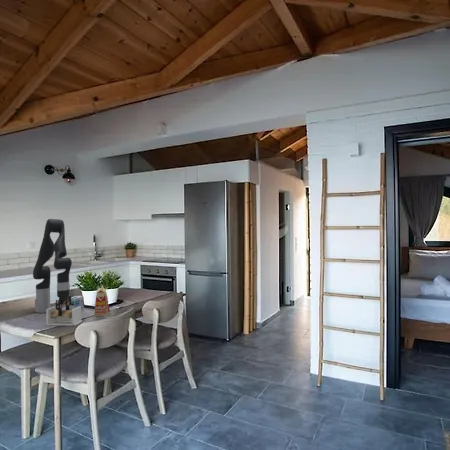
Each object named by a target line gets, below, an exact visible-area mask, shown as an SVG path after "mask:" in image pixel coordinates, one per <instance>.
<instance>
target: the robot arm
mask: <svg viewBox="0 0 450 450" xmlns="http://www.w3.org/2000/svg"><path fill="white" fill-rule="evenodd" d="M44 226H45V227H44V233H43V238H42V241H41V245H40V247H39V252H38V256H37V260H36V262H35V265H34V268H33V270H32V277H33V279H34V280H37V281H38V280H42V281H41V282H39V283H37V284H35V298H34V313H38V314H40V313H41V314H43V313H46V309H49V308H51V274H52V272H51V268H50V266H48V265H45V264H46V263H47V262H48V261H49V260H51V258H52V257H53V255H54V262H53V267H54V269H55V270H63V271H61V272H59V273H57V275H56V281H57V284H56V296H57V298H58V299H56V300H55V306H56V310H58V316H62V310H63V308H64V307H65V310H69V306H70V305H71V297H72V295H71V292H70V291H71V290H70V289H71V287H70V272H71V267H72V264H73V261H72V259H71V257H66V256H67V255H68V253H67V247H66V239H65V238H66V233H65V232H66V231H65V230H66V229H65V228H66V227H65V221H64V220H63V219H55V218H48V219H47V220H46V223H45V225H44ZM51 233H56V234H59V235H58V238H57V239H56V240H55V241H53V240H52V237H51ZM69 301H70V303H69Z"/></svg>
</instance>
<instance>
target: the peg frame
mask: <svg viewBox="0 0 450 450" xmlns="http://www.w3.org/2000/svg"><path fill="white" fill-rule="evenodd" d="M55 310H56V305H53V306H52V307H51V306H50V308H49V309H46V312H45V313H46V319H45V320H46V324H45V326H77V325H79V324H81V323H82V322H83V320H82V311H81V306H79V307H77V308H75V309H72V317H52V311H55Z"/></svg>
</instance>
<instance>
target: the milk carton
mask: <svg viewBox="0 0 450 450" xmlns="http://www.w3.org/2000/svg"><path fill="white" fill-rule="evenodd" d="M110 313H111V310H110V305H109V298H108V293H107V289H106V288H105V287H104V285H101V287H100V288H98V290H97V291H96V295H95V303H94V314H93V315H94V316H98V317H99V316H101V317H102V316H108V315H109V314H110Z"/></svg>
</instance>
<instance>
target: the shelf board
mask: <svg viewBox="0 0 450 450" xmlns="http://www.w3.org/2000/svg"><path fill="white" fill-rule="evenodd" d="M52 317H72V310H66V309H62V316H58V310H55V311H52Z"/></svg>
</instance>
